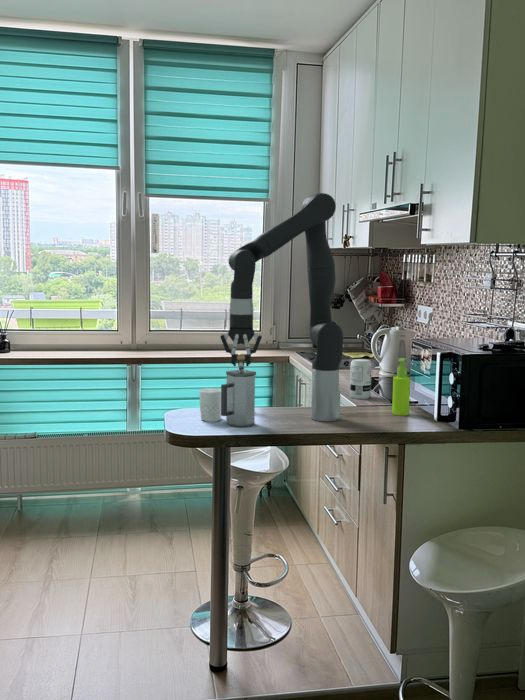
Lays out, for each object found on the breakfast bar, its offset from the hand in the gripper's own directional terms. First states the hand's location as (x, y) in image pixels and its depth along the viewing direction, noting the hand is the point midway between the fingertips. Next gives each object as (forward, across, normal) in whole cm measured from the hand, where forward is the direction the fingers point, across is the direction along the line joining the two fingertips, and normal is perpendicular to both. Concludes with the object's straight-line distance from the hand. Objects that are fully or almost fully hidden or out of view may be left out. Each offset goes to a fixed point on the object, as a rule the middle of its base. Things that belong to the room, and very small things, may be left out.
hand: (240, 365), depth 216 cm
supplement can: (+20, -46, -49) cm, 69 cm away
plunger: (+16, 0, 0) cm, 16 cm away
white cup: (+20, +10, -6) cm, 23 cm away
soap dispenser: (+20, -56, -19) cm, 62 cm away
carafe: (+19, +1, +1) cm, 20 cm away
